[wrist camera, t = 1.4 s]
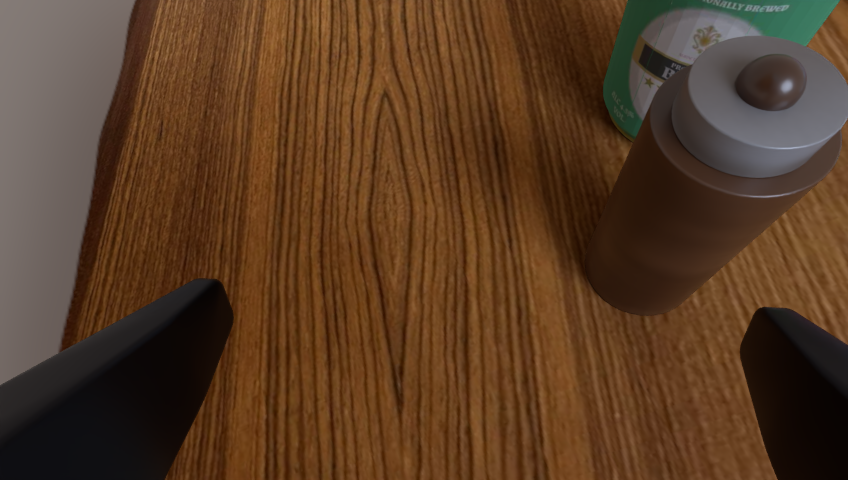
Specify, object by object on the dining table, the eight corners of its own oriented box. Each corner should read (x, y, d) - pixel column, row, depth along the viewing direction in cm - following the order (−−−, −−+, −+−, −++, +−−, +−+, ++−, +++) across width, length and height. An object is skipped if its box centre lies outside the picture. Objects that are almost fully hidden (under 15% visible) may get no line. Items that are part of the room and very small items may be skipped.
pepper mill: (716, 291, 23) (960, 97, 11) (619, 332, 23) (763, 178, 11) (655, 206, 26) (803, -31, 14) (565, 242, 25) (636, 33, 13)
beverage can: (578, 133, 28) (633, -76, 18) (626, 40, 31) (700, -191, 20) (722, 182, 26) (890, -24, 15) (762, 77, 28) (928, -163, 18)
